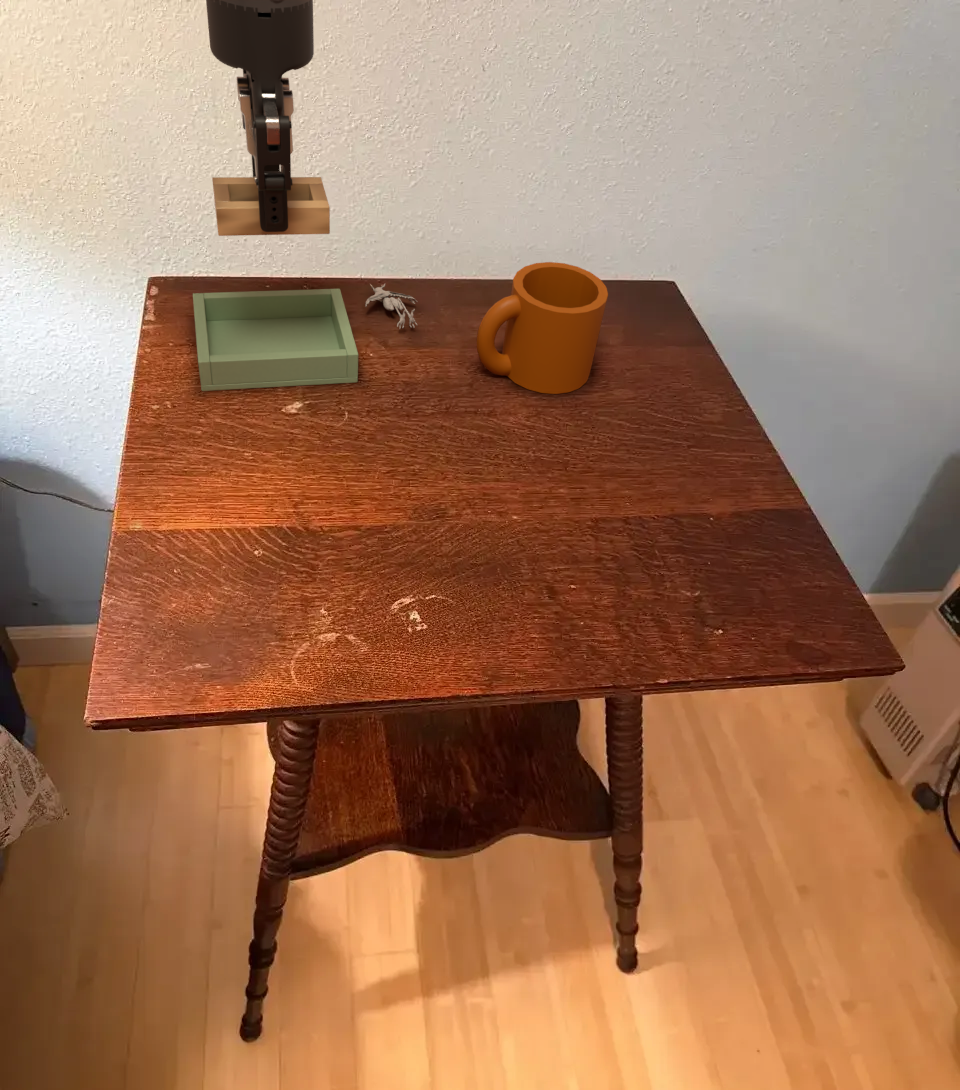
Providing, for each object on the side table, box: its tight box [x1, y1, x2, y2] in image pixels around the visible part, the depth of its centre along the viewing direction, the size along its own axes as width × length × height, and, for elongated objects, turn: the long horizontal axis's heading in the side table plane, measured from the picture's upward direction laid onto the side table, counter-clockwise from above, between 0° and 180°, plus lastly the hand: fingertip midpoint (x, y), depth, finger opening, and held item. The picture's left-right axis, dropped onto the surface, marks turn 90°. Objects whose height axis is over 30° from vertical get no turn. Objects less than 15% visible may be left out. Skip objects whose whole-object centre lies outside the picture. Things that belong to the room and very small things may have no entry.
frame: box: [211, 176, 331, 237], centre depth 79 cm, size 9×6×2 cm, turn 104°
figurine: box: [365, 283, 418, 329], centre depth 96 cm, size 6×2×8 cm
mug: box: [475, 261, 609, 395], centre depth 89 cm, size 9×12×9 cm
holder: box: [192, 288, 359, 392], centre depth 89 cm, size 14×12×3 cm
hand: (270, 211), depth 79 cm, fingers closed on frame, 5 cm apart
